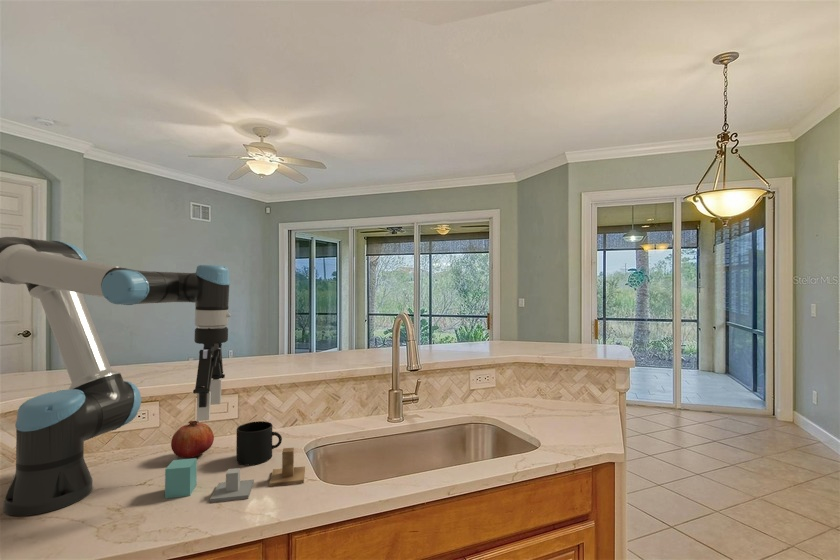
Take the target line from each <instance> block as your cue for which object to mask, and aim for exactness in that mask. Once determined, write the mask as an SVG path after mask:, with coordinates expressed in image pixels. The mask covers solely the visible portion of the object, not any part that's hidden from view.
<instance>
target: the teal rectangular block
mask: <svg viewBox="0 0 840 560" xmlns="http://www.w3.org/2000/svg"><path fill="white" fill-rule="evenodd" d="M197 461H198V458H197V457H192V458H184V459H183V458H181V459H173V460H171V462H170V463H169V464H168V466H166V468H165V470H164V499H171V498H181V497H182V498H183V497H189V496H191V495H192V493H193V491H194V490H195V489H196V487H197V476H198V475H197V474H198V473H197V471H198V469H197V467H198V466H197V465H198V462H197Z"/></svg>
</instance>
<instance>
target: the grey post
mask: <svg viewBox="0 0 840 560" xmlns="http://www.w3.org/2000/svg"><path fill="white" fill-rule="evenodd" d="M254 484H255V479H245V480H244V479H243V480H241V468H240V467H237V468H228V469H227V471H226V473H225V481H224V482H218V483H217V486H216V487H215V489H214V491H213V493H212V495H211V497H210V498H209V500H210V501H209V502H210V504H211V503H219V502H220V503H221V502H227V501H228V502H230V501H238V500H248V499H249V497H250V495H251V492H252V489H253V486H254Z"/></svg>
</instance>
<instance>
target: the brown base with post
mask: <svg viewBox="0 0 840 560" xmlns="http://www.w3.org/2000/svg"><path fill="white" fill-rule="evenodd" d="M281 455H282V457H281V459H282V461H281V463H282V464H281V467H282V468H274V469H272V473H271V476H270V480H269V483H268V484H269V485H268V486H269V488H271V487H279V486H286V485H287V486H288V485H289V486H290V485H300V484H304V482H305V474H306V473H305V472H306V466H296V467H295V466H294V465H295V460H294V459H295V447H284V448H282V453H281Z"/></svg>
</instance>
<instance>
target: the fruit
mask: <svg viewBox="0 0 840 560" xmlns="http://www.w3.org/2000/svg"><path fill="white" fill-rule="evenodd" d="M187 423H188V424H185V425H183V426H181V427H180V428H178V429H177V430H176V431H175V433H174V434H173V436H172V438H171V443H170V448H171V450H172V452H173V453H174V455H175V456H177V457H179V458H182V459H183V458H184V459H193V458H197V457H198V456H200V455H203V454H204V453H205V452H207V451H208V450H209V449H210V448H211V447H212V446H213V443H214V439H215V436H214V433H213V430H212V429H211V427H210V425H208V424H206V423H202V422H200V421H196V420H190V421H188V422H187Z"/></svg>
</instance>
